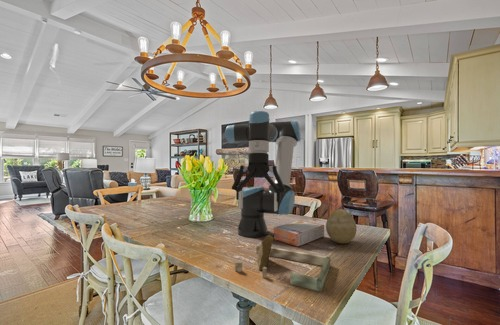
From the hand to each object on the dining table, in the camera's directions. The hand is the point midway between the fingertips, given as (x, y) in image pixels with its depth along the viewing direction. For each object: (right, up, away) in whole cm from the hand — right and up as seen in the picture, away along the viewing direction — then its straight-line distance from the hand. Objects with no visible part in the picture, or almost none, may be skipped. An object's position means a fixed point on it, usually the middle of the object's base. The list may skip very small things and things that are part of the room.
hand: (257, 209), depth 88 cm
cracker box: (+29, -15, +30) cm, 45 cm away
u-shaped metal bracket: (+9, -19, -7) cm, 22 cm away
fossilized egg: (+38, -18, +17) cm, 45 cm away
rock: (+2, -19, -4) cm, 19 cm away
